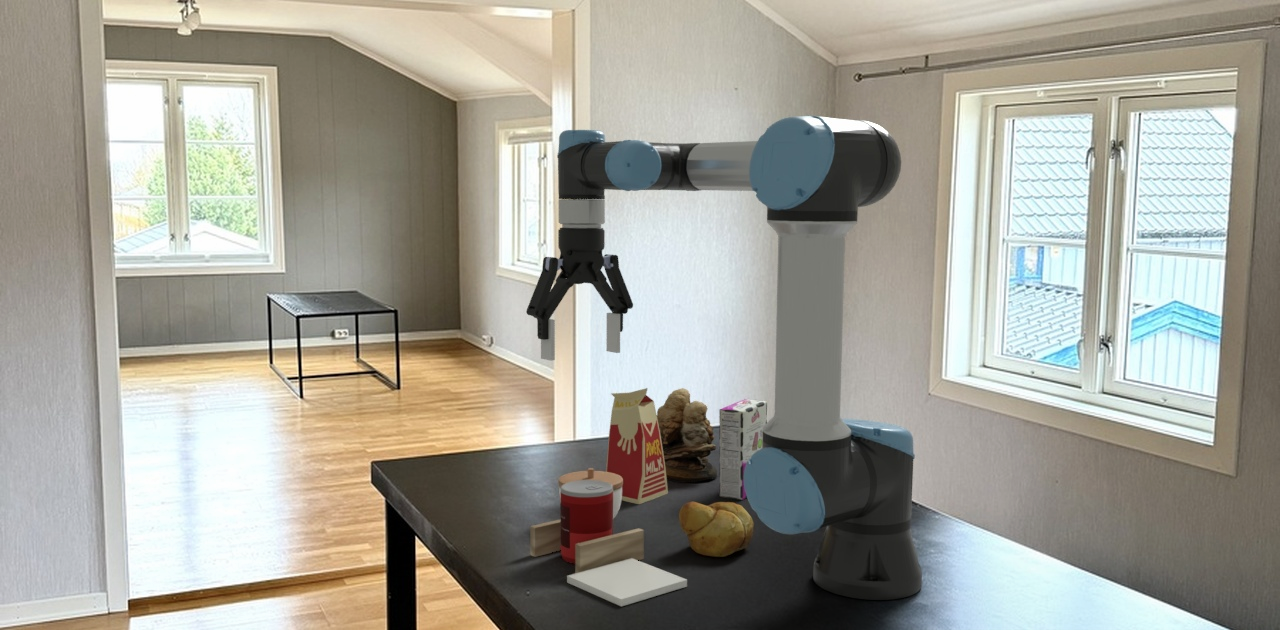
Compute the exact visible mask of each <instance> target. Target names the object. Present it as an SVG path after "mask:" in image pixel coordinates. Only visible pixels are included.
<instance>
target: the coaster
mask: <svg viewBox="0 0 1280 630" xmlns="http://www.w3.org/2000/svg"><path fill="white" fill-rule="evenodd" d="M566 582H567V583H568V584H570V585H572V586H575V587H577V588H578V589H581V590H583V591H585V592H588V593H590V594H592V595H594V596H596V597H599V598H601V599H604V600H606V601H607V602H610V603H612V604H614V605H617V606H619V607H624V606H628V605H631V604H634V603H637V602H641V601H644V600H647V599H650V598H654V597H656V596H657V597H658V596H660V595H663V594H667V593H670V592H673V591H676V590H680V589H684V588H687V587H688V579H687V578H684V577H682V576H679V575H676V574H675V573H671V572H669V571H666V570H664V569H661V568H658V567H656V566H653V565H650V564H648V563H646V562H643V561H641V560H639V561H638V560H635V559H633V558H631V559H627V560H623V561H620V562H616V563H612V564H608V565H605V566H601V567H597V568H594V569H590V570H586V571H583V572H579V573H575V572H574V573H572V574H569V575H566Z"/></svg>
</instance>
